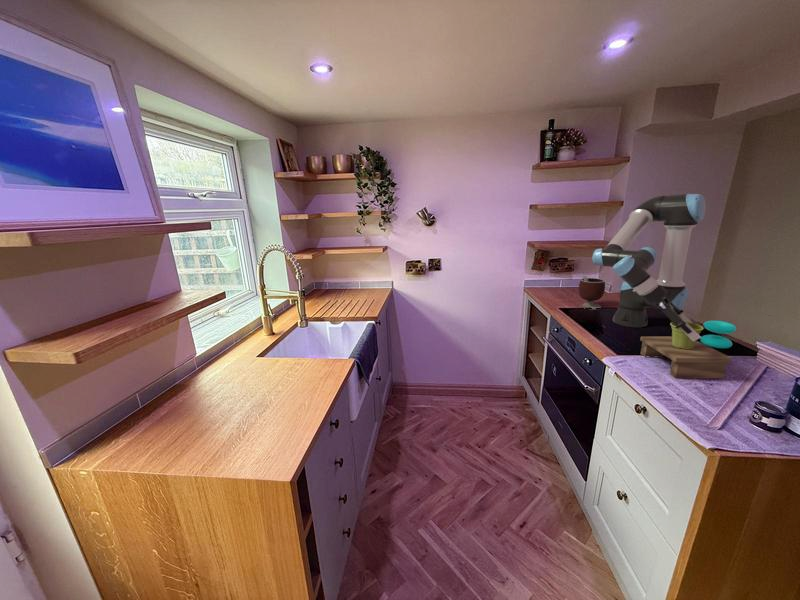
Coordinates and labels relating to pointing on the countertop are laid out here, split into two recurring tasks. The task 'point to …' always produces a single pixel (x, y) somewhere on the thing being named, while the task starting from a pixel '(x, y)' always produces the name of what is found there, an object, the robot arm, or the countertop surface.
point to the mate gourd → (591, 290)
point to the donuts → (715, 339)
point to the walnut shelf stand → (687, 358)
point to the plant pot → (684, 336)
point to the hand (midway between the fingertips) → (694, 333)
